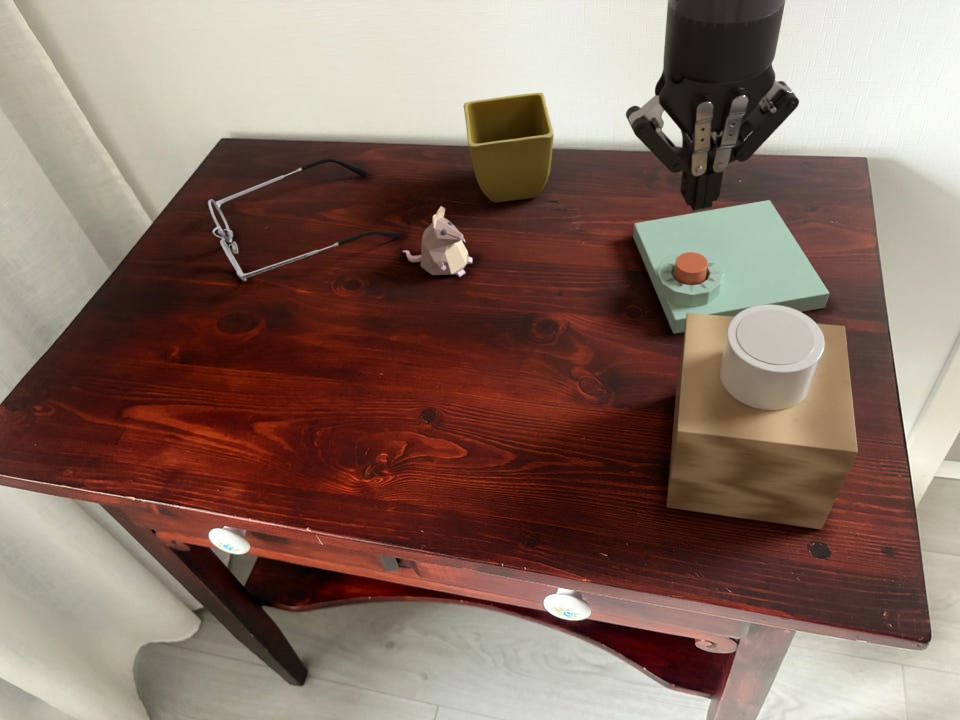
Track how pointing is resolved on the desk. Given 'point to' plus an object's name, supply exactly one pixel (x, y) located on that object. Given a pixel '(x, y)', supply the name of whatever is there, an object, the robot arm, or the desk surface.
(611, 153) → the desk surface
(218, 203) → the eyeglasses
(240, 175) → the desk surface
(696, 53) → the robot arm
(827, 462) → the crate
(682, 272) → the button
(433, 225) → the mouse figurine
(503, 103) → the flower pot
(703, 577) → the desk surface
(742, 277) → the scale
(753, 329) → the ramekin
